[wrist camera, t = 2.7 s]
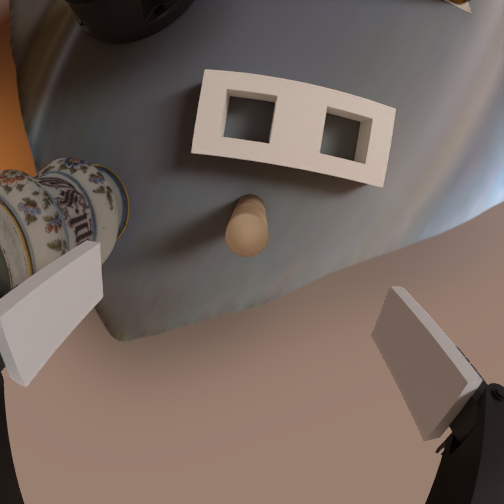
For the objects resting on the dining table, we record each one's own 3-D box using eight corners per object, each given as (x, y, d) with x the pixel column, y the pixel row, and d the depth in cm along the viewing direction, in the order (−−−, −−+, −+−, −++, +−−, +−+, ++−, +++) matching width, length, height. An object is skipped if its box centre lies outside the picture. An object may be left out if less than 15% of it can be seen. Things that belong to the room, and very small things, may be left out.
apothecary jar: (50, 232, 31) (-50, 291, 14) (70, 142, 27) (-52, 156, 10) (123, 271, 32) (37, 365, 15) (153, 175, 28) (40, 211, 11)
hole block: (198, 152, 28) (191, 152, 24) (210, 78, 25) (204, 69, 22) (369, 183, 28) (382, 187, 25) (381, 112, 26) (395, 108, 22)
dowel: (233, 220, 30) (222, 253, 21) (237, 192, 29) (228, 212, 20) (262, 225, 30) (264, 259, 21) (267, 196, 29) (271, 218, 20)
